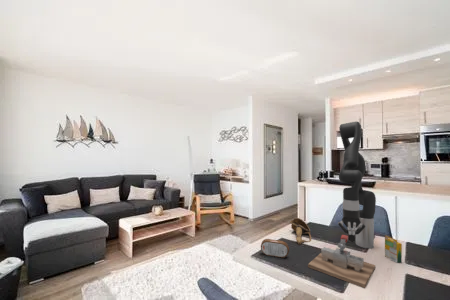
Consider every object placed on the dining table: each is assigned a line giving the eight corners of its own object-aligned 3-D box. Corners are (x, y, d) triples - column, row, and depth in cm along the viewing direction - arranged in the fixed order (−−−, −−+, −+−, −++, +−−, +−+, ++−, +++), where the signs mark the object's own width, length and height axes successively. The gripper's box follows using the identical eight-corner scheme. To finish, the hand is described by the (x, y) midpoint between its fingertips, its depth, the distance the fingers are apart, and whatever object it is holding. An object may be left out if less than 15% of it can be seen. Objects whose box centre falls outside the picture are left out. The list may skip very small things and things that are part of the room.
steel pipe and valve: (324, 256, 117) (324, 244, 117) (364, 269, 105) (364, 256, 105) (320, 260, 113) (320, 248, 113) (361, 274, 100) (361, 260, 100)
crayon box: (402, 262, 114) (402, 240, 114) (397, 263, 114) (397, 240, 114) (389, 256, 121) (389, 234, 121) (384, 256, 121) (384, 235, 121)
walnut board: (324, 252, 125) (324, 249, 125) (375, 268, 108) (375, 265, 108) (308, 267, 109) (308, 264, 109) (364, 288, 93) (364, 284, 93)
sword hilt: (313, 223, 155) (292, 214, 160) (317, 236, 132) (292, 224, 136) (307, 236, 156) (287, 226, 161) (310, 251, 133) (286, 239, 137)
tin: (289, 256, 120) (289, 241, 120) (288, 259, 117) (288, 243, 117) (261, 252, 125) (261, 237, 125) (260, 255, 122) (260, 239, 122)
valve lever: (341, 241, 121) (341, 234, 121) (348, 242, 119) (348, 235, 119) (337, 251, 108) (337, 244, 108) (344, 253, 107) (344, 245, 107)
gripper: (363, 207, 117) (364, 240, 117) (336, 205, 122) (336, 237, 122) (367, 211, 110) (368, 246, 110) (337, 209, 115) (338, 242, 115)
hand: (351, 241), depth 116 cm, fingers closed
